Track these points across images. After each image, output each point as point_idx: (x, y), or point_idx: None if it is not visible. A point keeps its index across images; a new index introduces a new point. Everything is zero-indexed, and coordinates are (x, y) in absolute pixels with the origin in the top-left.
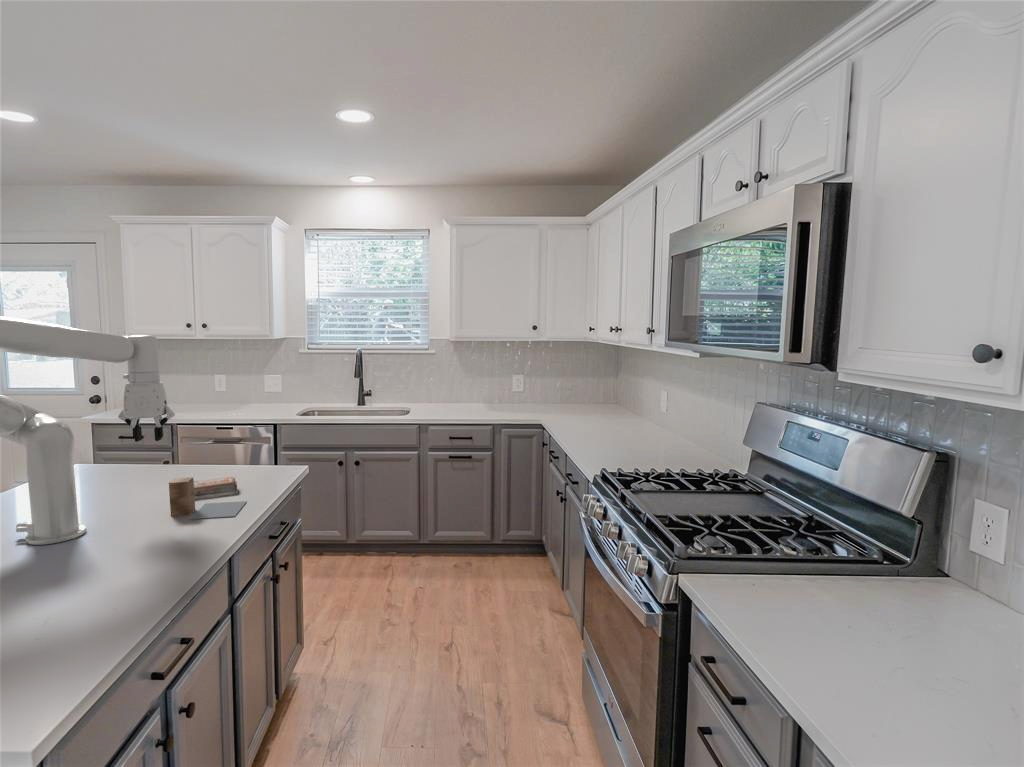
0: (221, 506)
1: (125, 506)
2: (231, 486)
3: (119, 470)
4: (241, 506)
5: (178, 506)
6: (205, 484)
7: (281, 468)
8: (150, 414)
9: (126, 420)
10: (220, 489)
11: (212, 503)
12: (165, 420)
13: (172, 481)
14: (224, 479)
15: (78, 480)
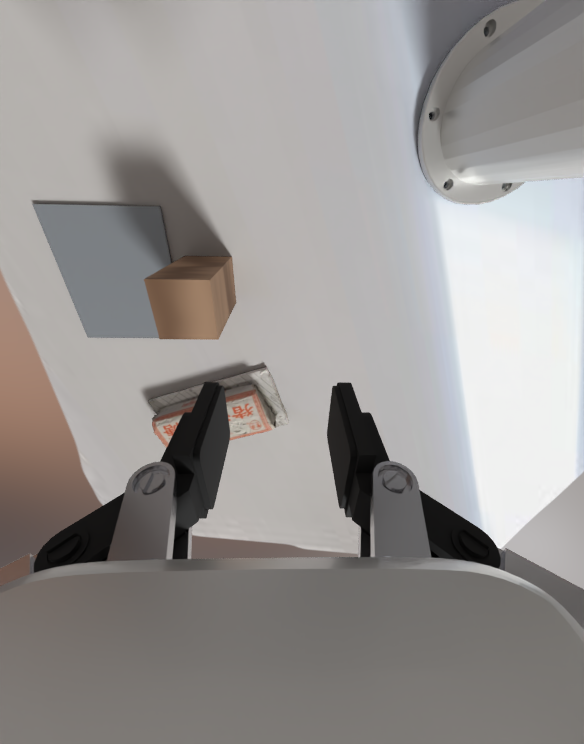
0: (129, 305)
1: (368, 357)
2: (159, 414)
3: None
4: (72, 295)
5: (205, 261)
6: None
7: None
8: (116, 628)
9: (482, 548)
10: (181, 405)
11: None
12: (61, 539)
13: (205, 296)
14: None
15: (482, 508)
